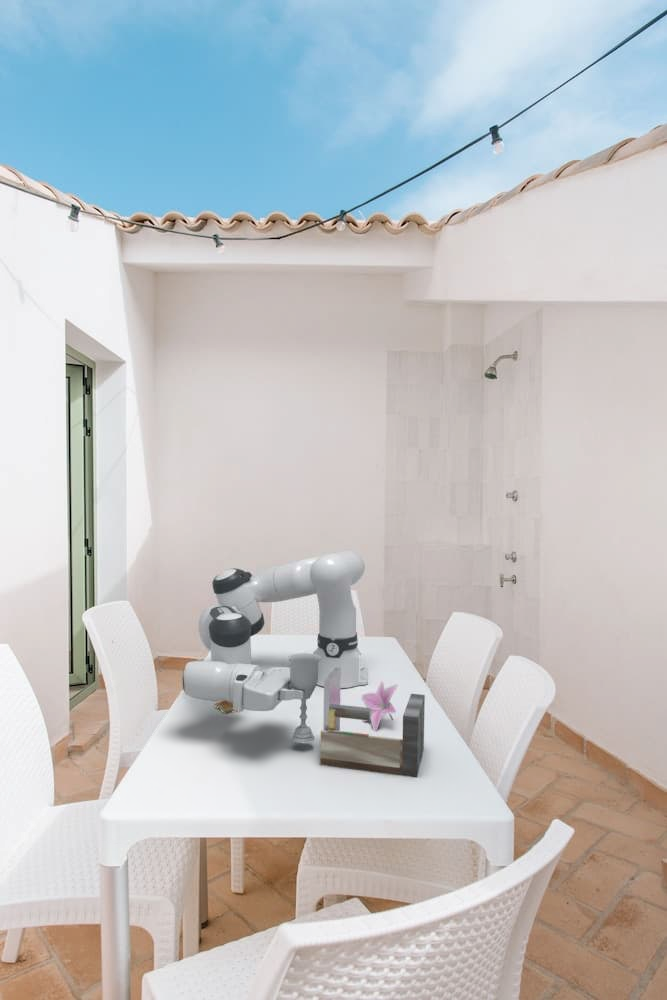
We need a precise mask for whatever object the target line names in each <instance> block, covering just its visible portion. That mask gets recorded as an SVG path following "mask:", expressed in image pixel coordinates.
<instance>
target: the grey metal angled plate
mask: <svg viewBox="0 0 667 1000" xmlns="http://www.w3.org/2000/svg"><path fill="white" fill-rule="evenodd" d="M340 683H341V668H338V667H335V669H334V670H333V671H332V672H331V673H330V674H329V675H328V677H327V678H326V679H325V680H324V687H323V730H322V731H328V729H329V710H330V709H335V710H336V731H341V718H342V719H350V720H351V719H352V720H361V721H362V720H366V721H368V722H369V721H371V708H367V707H366V706H364V707H363V706H356V705H355V706H354V705H345V704H341V688H340Z"/></svg>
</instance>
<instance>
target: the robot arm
mask: <svg viewBox="0 0 667 1000" xmlns="http://www.w3.org/2000/svg"><path fill="white" fill-rule="evenodd" d="M364 573H365V562H364V560H363V558H362V557H361V556H360V555H359V554H358V553H356V552H354V551H352V550H351V551H350V550H340V551H336V552H330V553H326V554H323V555H319V556H318V555H317V556H315V557H310V558H305V559H301V560H298V561H293V562H288V563H283V564H279V565H276V566H273V567H269V568H267V569H264V570H262V571H261V570H260V572H258V573H256V574H254V575H253V574H252V573H251V572H250V571H245V570H243V569H241V568H234V567H233V568H230V569H225V570H224V571H221V572H220V573H219V574H217V575H216V576H215V577H214V578H213V581H212V589H213V593H214V594H215V596H216V599H217V602H218V604H211V605H209V606H207V607H206V608H205V609H204V610H202V612H201V614H200V617H199V620H198V631H199V632H198V633H199V637H200V640H201V642H202V644H203V645H204V647H205V648H206V649H207V650H208V651H210V655H211V656H210V657H211V658H210V659H211V660H194V661H189V662H187V663H186V664H185V666H184V668H183V670H182V689H183V691H184V694H185V695H187V696H189V697H191V698H195V699H198V700H203V701H208V702H220V701H228V702H230V703H233V710H234V711H241V712H242V711H244V710H246V711H253V712H269V711H273V710H274V709H275V708H276V707H277V706H278V705H279V704H281V702H282V701H292V700H300V701H301V699H303V697H304V695H305V694H304V693H305V691H304V690H303V689H296V690H294V689H293V687H292V684H291V681H290V666H289V667H286V666H274V667H273V666H272V667H269V668H268V669H266V670H265V671H264V670H262V669H263V668H262V667H261V666H260V665H259V664H253V663H252V639H251V637H252V636H255V635H257V634H258V633H259V632H261V631H262V629H263V628H264V626H265V617H264V613H263V612H262V610H261V606H260V604H259V603H277V602H284V601H288V600H293V599H294V600H295V599H299V598H303V597H308V596H312V595H315V594H316V596H317V602H318V611H319V612H318V613H319V615H318V616H319V618H318V619H319V621H318V622H319V623H318V625H319V626H318V627H319V632H318V634H317V648H316V649H315V650H314V651H313V652H312V654H315V655H319V656H320V657H321V659H320V660H319V662H318V681H317V684H316V686H320V687H323V688H324V680H325V679H326V678H327V677H328V675H329V674H330V673H331V672H332V671H333V670H334V669H335V667H338V668H341V683H340V689H346V688H347V689H349V688H352V687H357V686H365V685H368V683H369V681H368V680H369V677H368V675H369V670H368V667H367V666H364V665H361V664H362V663H361V662H362V654H361V652H360V650H359V648H358V645H359V643H358V642H359V639H358V632H357V607H356V606H355V604H354V601H353V596H352V592H351V591H352V589H351V586H353V585H355V584H357V583H358V582H359V581H360V579H361V578H362V576H364Z"/></svg>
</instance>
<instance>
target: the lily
mask: <svg viewBox="0 0 667 1000" xmlns="http://www.w3.org/2000/svg"><path fill="white" fill-rule="evenodd" d="M398 687H399V686H398V684H397V683H396V684H393V685H390V686H388V687H387V688H385V685H384V682H383V681H380V683H379V684H378V687H377V689H376V692H368V693H364V694H362V695H361V701H362V702H363V705H365V706H364V707H365V708H371V718H370V722H371V726H372V729H373V731H374V732H377V730H378V727H379V725H380V722H381V719H382V717H383V716H384V715H389V716H390V719H391V720H392V721H393V720H394V718H393V717H392V714H395V713H396V712H397V711H396V709H395V707H394V705H393V704H392V703H391V702H390V701H391V699H392V697H393V695H394V693H395V692H396V690H397V689H398ZM366 721H367V720H361V722H362V723H363V722H366Z"/></svg>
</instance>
